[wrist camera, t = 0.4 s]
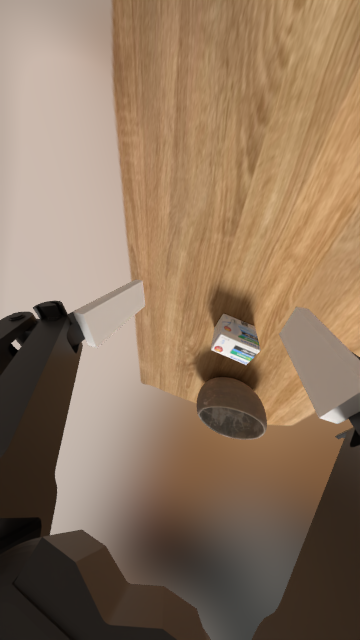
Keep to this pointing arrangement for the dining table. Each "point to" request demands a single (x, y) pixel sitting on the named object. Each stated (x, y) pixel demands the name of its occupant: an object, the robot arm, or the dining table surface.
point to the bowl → (231, 409)
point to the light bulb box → (235, 339)
